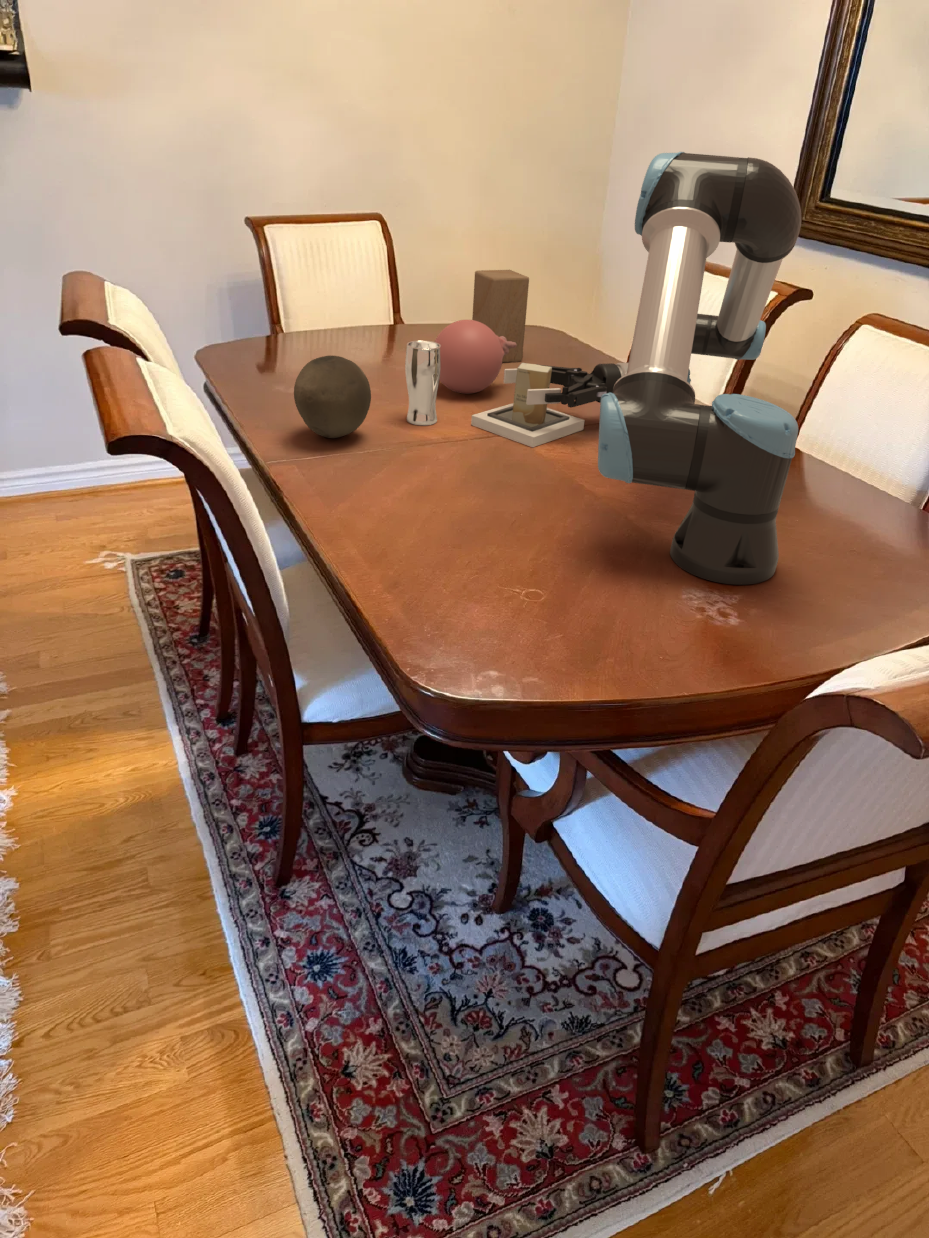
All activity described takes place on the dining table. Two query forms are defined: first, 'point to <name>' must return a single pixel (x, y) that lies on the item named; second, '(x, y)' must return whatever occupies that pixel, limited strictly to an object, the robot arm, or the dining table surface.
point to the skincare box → (526, 379)
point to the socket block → (531, 436)
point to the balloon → (470, 355)
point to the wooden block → (502, 306)
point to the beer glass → (422, 380)
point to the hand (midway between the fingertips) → (515, 386)
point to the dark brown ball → (332, 396)
